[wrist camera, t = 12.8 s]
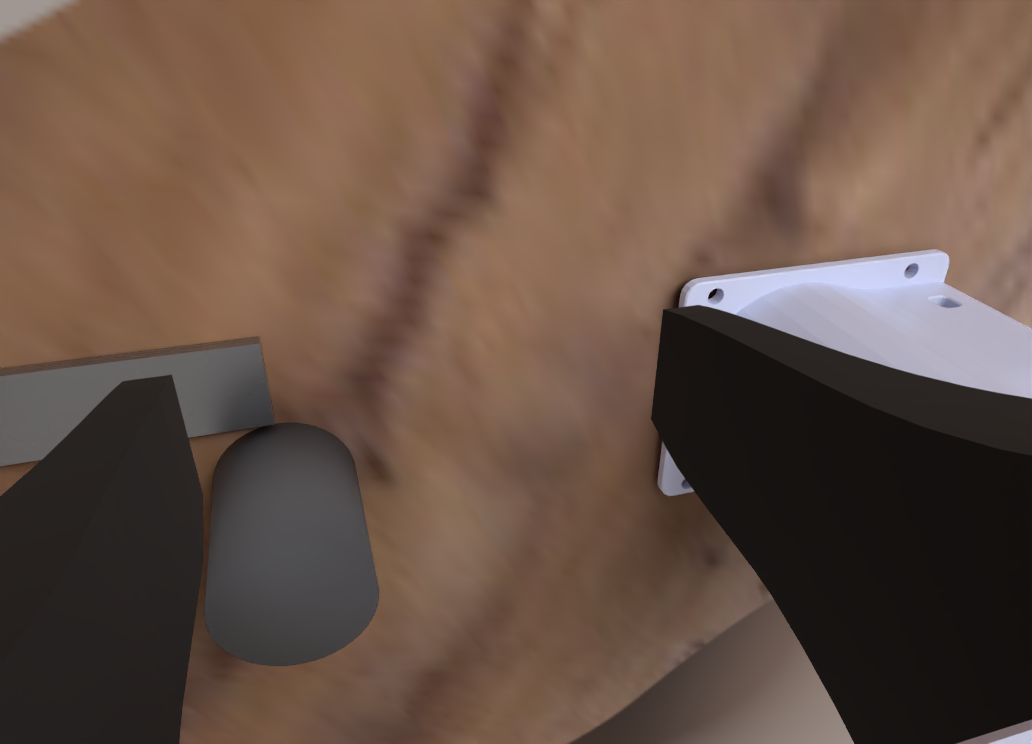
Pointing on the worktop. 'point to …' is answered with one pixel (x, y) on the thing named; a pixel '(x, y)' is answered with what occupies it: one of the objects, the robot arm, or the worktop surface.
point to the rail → (86, 382)
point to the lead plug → (288, 548)
